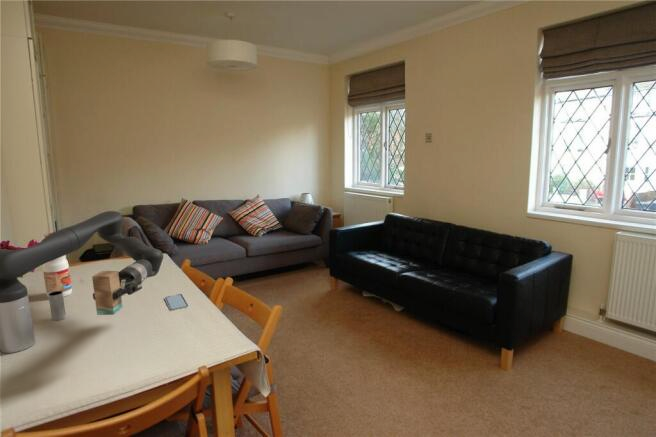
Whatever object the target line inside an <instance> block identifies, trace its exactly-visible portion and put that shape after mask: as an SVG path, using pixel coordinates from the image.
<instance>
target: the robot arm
mask: <svg viewBox="0 0 656 437" xmlns="http://www.w3.org/2000/svg"><path fill="white" fill-rule="evenodd" d="M123 224H124V218H123V215H122V214H121V212H119V211H115V210H107V211H103V212H101V213H100V212H99V213H98V214H96V215H94V216H92V217H90V218H88V219H85V220H84V221H81V222H79V223H76V224H73V225H70V226H67V227H64V228H61V229H58V230H56V231H53V232H50V233H51V234H49V235H48V236H46V237H44V238H43V239H42V240H41V241H40V242H39V243H37V244H35V245H32V246H31V245H30V246H28V247H24V248H20V249H15V250H14V249H5V248H0V352H2V353H4V354H10V353H13V354H14V353H17V352H20V351H25V350H26V349H28V348H29V349H30V348H31V347H33V346H34V345H36V337H35V331H34V330H35V329H34V323H33V317H32V312H31V311H32V310H31V305H30V298H29V293H28V287H27V286H26V285H25V284H23V283H22V282H21V281H20V280H19V279H18V278H20V277H23V276H24V275H26V274H28V273H29V272H32V271H33V270H35V269H37V268H39V267H40V266H43V264H45V263H47V262H50V261H52V260H55V259H57V258H59V257H62V256H64V255H66V256H67V255H69V254H72V253H74V252H76V251H78V250H80V249H81V248H83V247H84V246H85V245H86V244H87V243H88V242H89V241H90V240H91V239H92V237H93V236H94V235H95V234H96V233H97V235H98V237H99V238H101V239H102V240H104V241H105V242H108V243H109V244H111V245H113V246H115V247H117V248H119V249H120V250H122V251H123V252H124V253H125V254H126V255H127V256H129V257H130V258H131V259H132V260H133V261H134V262H133V263H131V264H129V265H127V266H126V267H124V268H123V269H120V270H118V274H119V282H120V289H118V290H116V291H115V292H114V293H113V294H112V295H113V300H117V299H118V298H120V297H121V298H122V297H123V296H126V295H128V296H130V295H133V294H134V293H136V292H138V291H140V290H142V289H143V285H142V283H144V281H145V280H146V279H149V278H150V277H155V276H157V275H158V273H159V271H160V268H161V266H162V262H163V260H164V253H163V252H162V251H161V250H160V249H157V248H154V247H151V246H149V245H146V243H144V242H143V241H142V240H141V239H139V238H137V237H135V236H124V235H123V226H124V225H123ZM92 298H93V300H94V301H95V295H94V292H93V293H92Z"/></svg>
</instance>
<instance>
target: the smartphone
mask: <svg viewBox="0 0 656 437" xmlns="http://www.w3.org/2000/svg"><path fill="white" fill-rule="evenodd" d="M164 301H165V304H166V305H167V307H168V309H169V310H170V312H171V311H177V309H178V310H182V308H183V309H187V308H189V307H190V306H189V304H188V302H187V301H186V299H185V297H184V295H183V294H182V293H178V294H174V295H168V296H165V297H164Z"/></svg>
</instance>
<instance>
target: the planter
mask: <svg viewBox="0 0 656 437" xmlns="http://www.w3.org/2000/svg"><path fill="white" fill-rule="evenodd" d="M48 296H49V298H48V303H49V307H50V308H49V309H50V315H51V320H52V321H54V322H57V321H58V322H59V321H62V320H64V319H66V318H67V313H66V306H65V299H64V297H63V292H62V291H55V292H51V293H49V294H48Z"/></svg>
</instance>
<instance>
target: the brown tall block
mask: <svg viewBox="0 0 656 437" xmlns="http://www.w3.org/2000/svg"><path fill="white" fill-rule="evenodd" d="M118 272H119V270H100V271H99V272H97V273H95V274H94V275H92V276H91V278H92V285H93V286H92V287H93V293H94V295H95V300H94V301H95V309H96V310H95V311H96V315H97V316H107V315H108V316H111V315H112V316H113V315H116V314H117V313H118V312H119V311H120V310H122V308H123V303H122V302H123V300H122V296H121V297H120V298H118V299H117V300H113V295H112V294H113V293H114V292H115V291H116V290H118V289H120V282H119V274H118Z"/></svg>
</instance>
